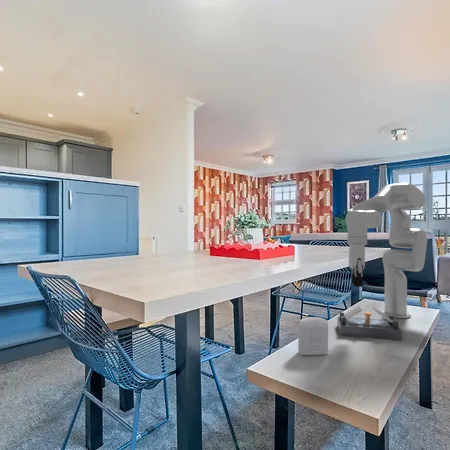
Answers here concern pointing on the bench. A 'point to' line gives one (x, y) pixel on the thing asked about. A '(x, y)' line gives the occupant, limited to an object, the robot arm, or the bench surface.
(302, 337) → the photo printer
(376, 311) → the strap
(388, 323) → the tray
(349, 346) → the bench surface
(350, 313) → the strap
